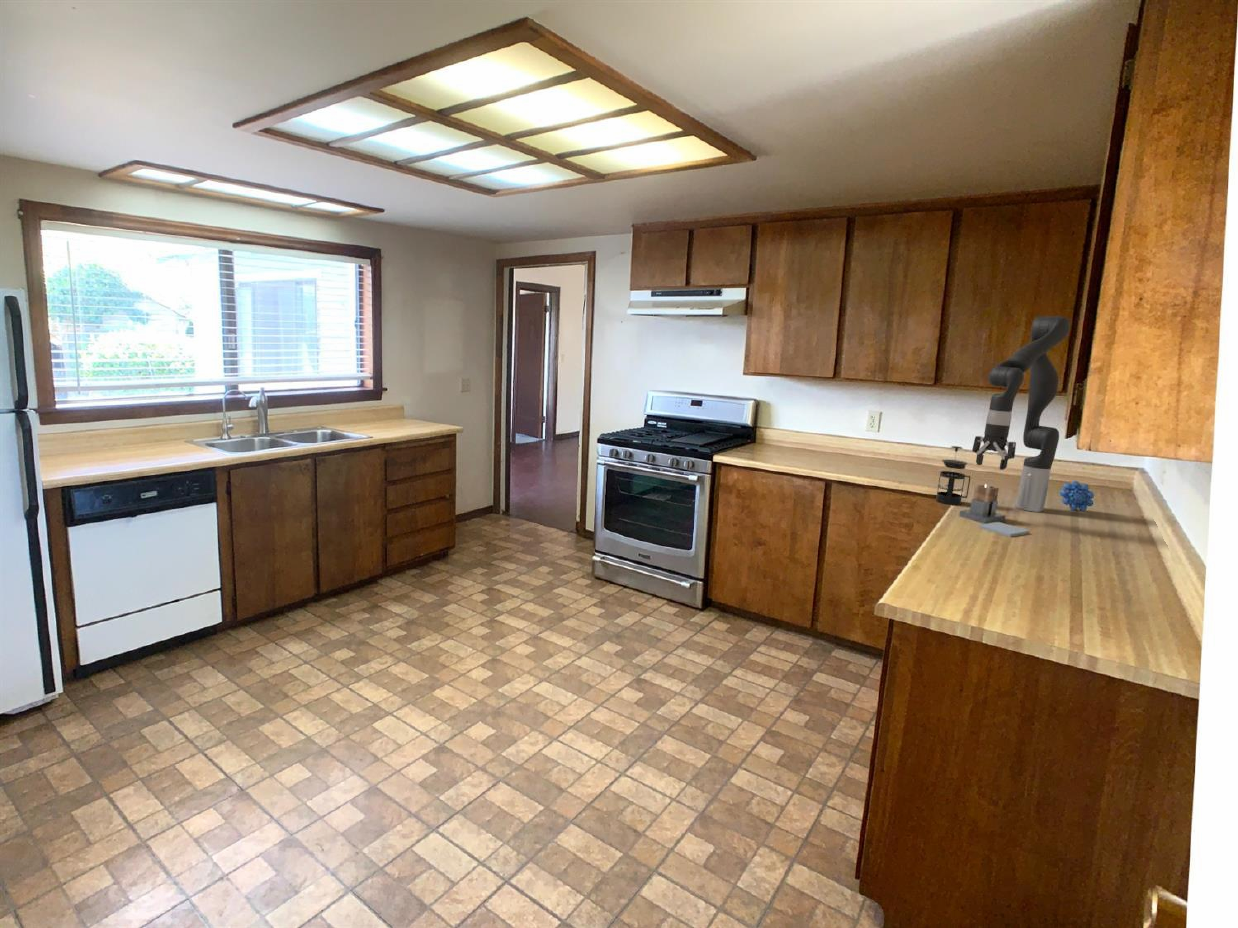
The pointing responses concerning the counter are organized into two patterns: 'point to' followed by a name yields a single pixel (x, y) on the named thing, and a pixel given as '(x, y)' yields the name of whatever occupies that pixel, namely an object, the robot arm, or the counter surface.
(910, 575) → the counter surface
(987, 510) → the grey block-shaped fixture
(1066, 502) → the grapes
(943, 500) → the french press
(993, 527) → the mat
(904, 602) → the counter surface
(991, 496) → the collar
